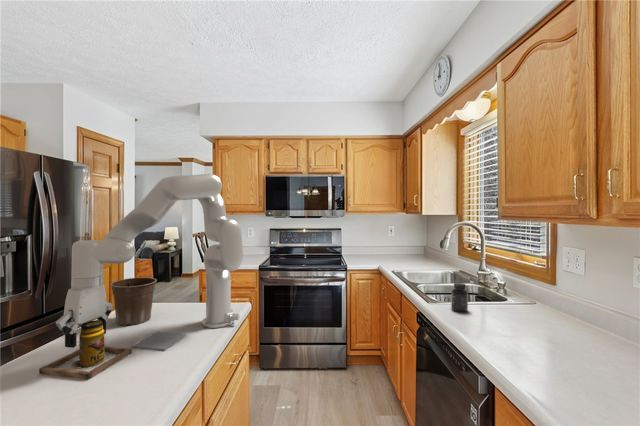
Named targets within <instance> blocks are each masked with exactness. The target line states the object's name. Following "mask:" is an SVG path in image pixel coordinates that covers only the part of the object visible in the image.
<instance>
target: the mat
mask: <svg viewBox="0 0 640 426" xmlns="http://www.w3.org/2000/svg"><path fill="white" fill-rule="evenodd" d="M187 336H188V335H187V333H180V332H178V333H177V332H164V331H156V332H154V333H152V334H151V335H149V336H147V337H145V338H143V339H142V340H140V341H138V342H137V343H135V344H133V345H132V346H131V349H139V348H140V349H141V350H150V349H151V350H152V351H162V352H163V351H164V352H165V351H167V350H169V348H171V347H173V346H174V345H176V344H177V343H178V342H180V341H181V340H183V339H184V338H186V337H187ZM151 350H150V351H151Z"/></svg>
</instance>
